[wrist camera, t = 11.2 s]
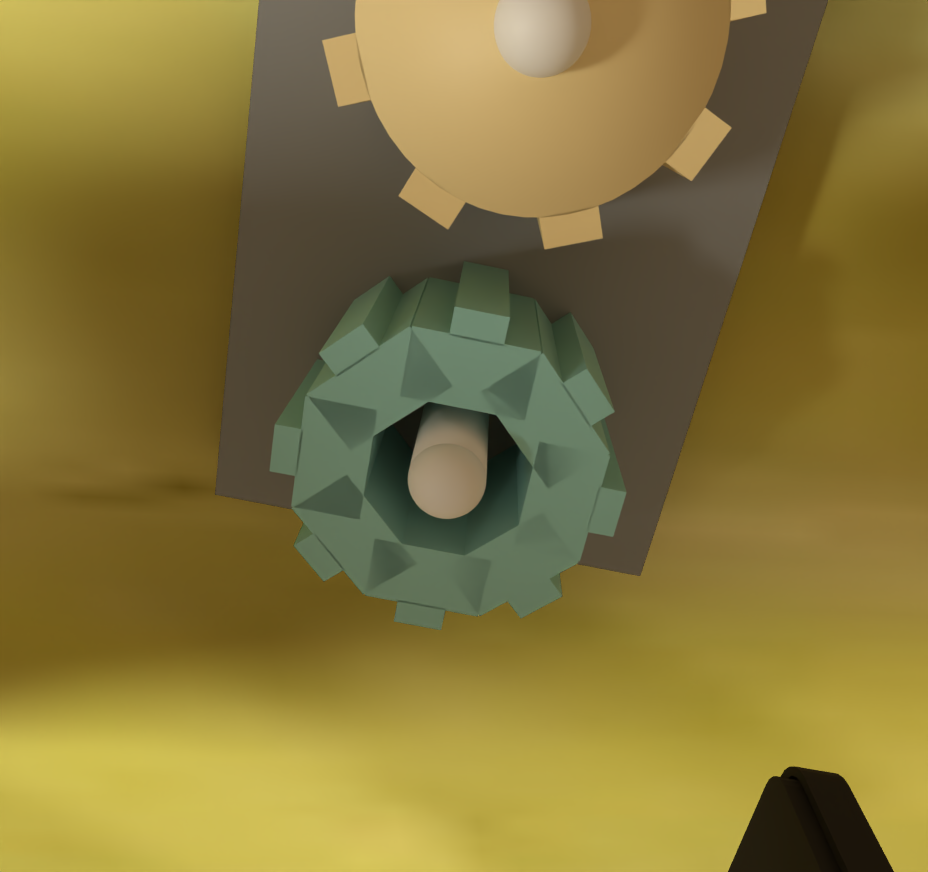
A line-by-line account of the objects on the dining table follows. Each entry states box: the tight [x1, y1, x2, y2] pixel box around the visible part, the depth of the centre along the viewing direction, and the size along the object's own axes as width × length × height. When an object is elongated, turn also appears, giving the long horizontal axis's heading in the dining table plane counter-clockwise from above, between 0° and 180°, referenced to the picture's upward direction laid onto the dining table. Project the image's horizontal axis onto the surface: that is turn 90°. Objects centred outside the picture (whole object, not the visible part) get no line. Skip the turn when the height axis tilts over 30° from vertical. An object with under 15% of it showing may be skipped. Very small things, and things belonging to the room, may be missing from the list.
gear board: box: [215, 0, 828, 576], centre depth 19 cm, size 17×12×8 cm
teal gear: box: [270, 261, 627, 630], centre depth 20 cm, size 8×8×4 cm
